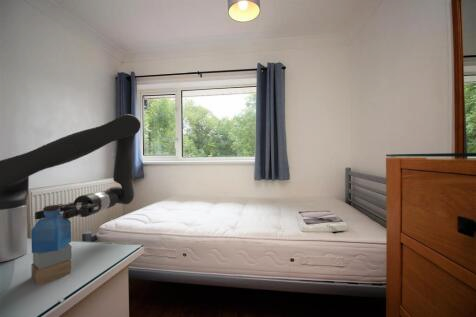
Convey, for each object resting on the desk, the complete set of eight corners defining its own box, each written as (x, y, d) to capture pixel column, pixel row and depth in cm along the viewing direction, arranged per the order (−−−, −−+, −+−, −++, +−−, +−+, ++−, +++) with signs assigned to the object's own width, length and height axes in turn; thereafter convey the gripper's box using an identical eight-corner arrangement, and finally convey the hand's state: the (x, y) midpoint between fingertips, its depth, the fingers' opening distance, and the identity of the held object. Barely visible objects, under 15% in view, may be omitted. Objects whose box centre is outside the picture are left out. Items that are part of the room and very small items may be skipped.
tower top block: (32, 262, 59) (32, 248, 59) (63, 253, 65) (63, 240, 65) (39, 269, 55) (39, 254, 55) (71, 259, 61) (71, 245, 61)
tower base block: (31, 277, 58) (31, 263, 58) (62, 266, 64) (62, 254, 64) (38, 286, 54) (37, 271, 54) (70, 273, 60) (70, 260, 60)
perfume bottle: (57, 250, 57) (57, 207, 58) (31, 253, 56) (30, 209, 56) (71, 242, 63) (70, 203, 64) (47, 244, 62) (46, 204, 62)
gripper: (73, 193, 76) (26, 203, 60) (111, 193, 75) (73, 202, 59) (74, 213, 76) (26, 229, 60) (111, 213, 75) (73, 228, 59)
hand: (50, 215), depth 59 cm, fingers open, 8 cm apart
